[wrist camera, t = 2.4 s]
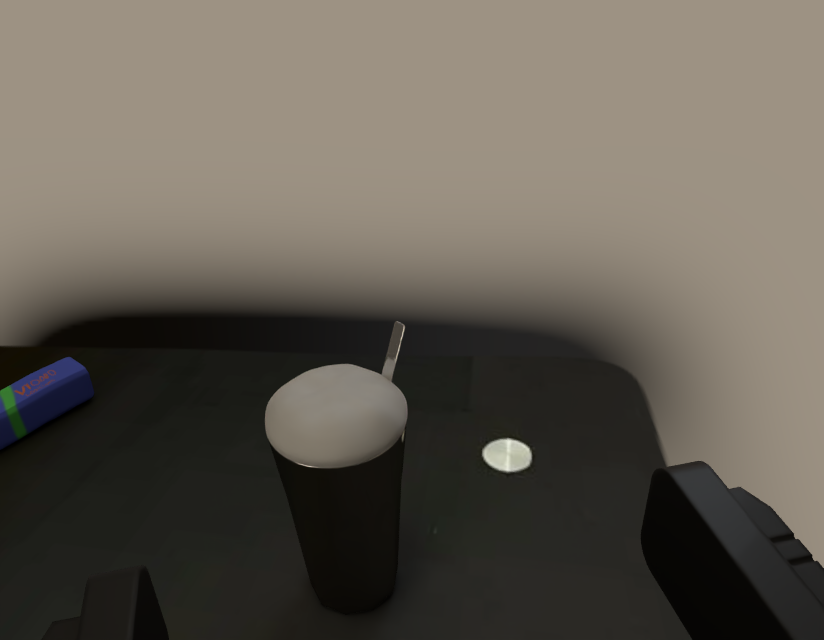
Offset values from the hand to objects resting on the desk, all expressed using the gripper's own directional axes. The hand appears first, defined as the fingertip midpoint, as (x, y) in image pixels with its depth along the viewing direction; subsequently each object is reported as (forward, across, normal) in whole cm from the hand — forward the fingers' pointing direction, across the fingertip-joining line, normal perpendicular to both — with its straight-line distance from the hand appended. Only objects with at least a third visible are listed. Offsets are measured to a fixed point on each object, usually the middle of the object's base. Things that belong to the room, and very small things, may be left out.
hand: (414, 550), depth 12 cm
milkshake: (+11, 0, +14) cm, 18 cm away
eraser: (+24, +14, +14) cm, 31 cm away
